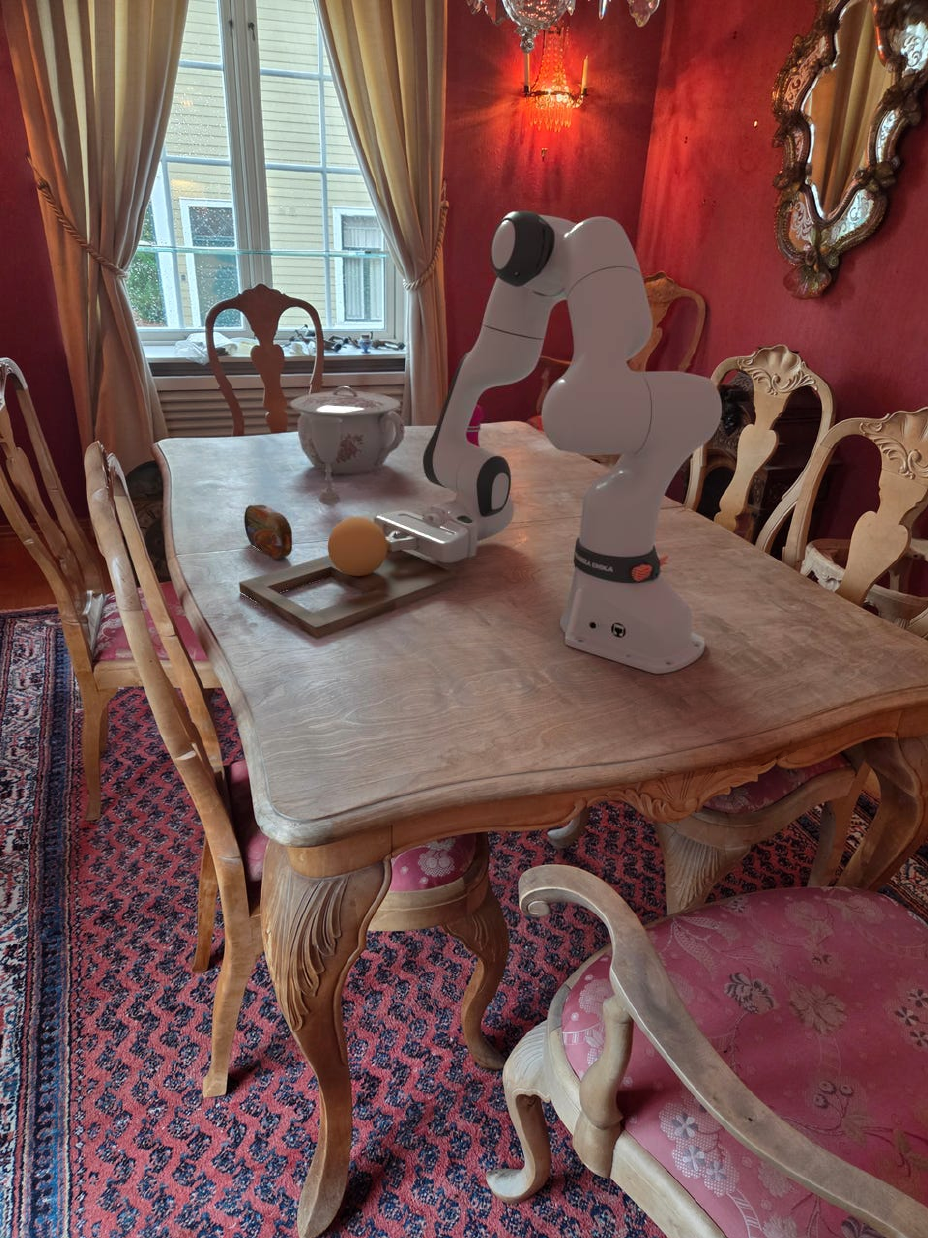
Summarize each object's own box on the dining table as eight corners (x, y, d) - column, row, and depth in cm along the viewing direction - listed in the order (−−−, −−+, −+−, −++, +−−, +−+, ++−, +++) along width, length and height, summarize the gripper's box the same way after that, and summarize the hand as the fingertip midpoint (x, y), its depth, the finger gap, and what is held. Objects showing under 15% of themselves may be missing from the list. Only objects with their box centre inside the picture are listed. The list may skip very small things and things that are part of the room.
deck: (458, 585, 134) (459, 574, 133) (316, 639, 115) (316, 627, 114) (378, 549, 148) (378, 540, 147) (240, 593, 128) (238, 582, 128)
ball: (407, 535, 130) (363, 511, 123) (384, 589, 130) (339, 568, 123) (373, 526, 137) (330, 504, 130) (352, 578, 137) (307, 557, 130)
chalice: (307, 501, 173) (302, 420, 165) (326, 493, 178) (321, 415, 170) (333, 506, 170) (329, 425, 162) (351, 498, 175) (348, 419, 167)
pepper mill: (480, 483, 189) (483, 400, 180) (451, 480, 190) (453, 398, 181) (485, 475, 195) (488, 395, 186) (457, 472, 196) (459, 393, 187)
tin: (244, 541, 150) (240, 500, 146) (259, 538, 152) (255, 497, 148) (281, 565, 140) (277, 522, 136) (297, 562, 141) (293, 518, 138)
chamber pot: (288, 457, 205) (283, 377, 196) (389, 452, 213) (387, 375, 204) (301, 487, 182) (294, 398, 172) (413, 480, 189) (413, 395, 180)
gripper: (407, 497, 148) (349, 513, 139) (483, 525, 135) (425, 544, 126) (407, 528, 150) (351, 545, 142) (482, 558, 138) (425, 579, 129)
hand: (386, 545), depth 134 cm, fingers closed
